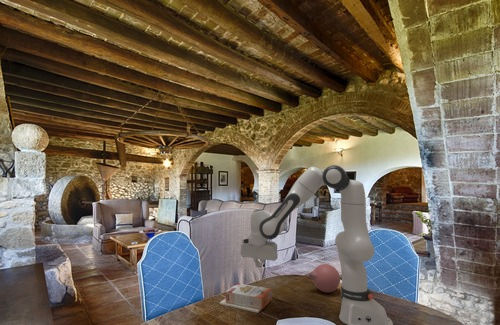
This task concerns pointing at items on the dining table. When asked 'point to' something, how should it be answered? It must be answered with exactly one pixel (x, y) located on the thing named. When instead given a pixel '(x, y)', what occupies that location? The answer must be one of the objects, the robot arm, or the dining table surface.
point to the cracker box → (249, 296)
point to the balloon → (325, 278)
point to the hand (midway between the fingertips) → (258, 267)
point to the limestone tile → (239, 306)
